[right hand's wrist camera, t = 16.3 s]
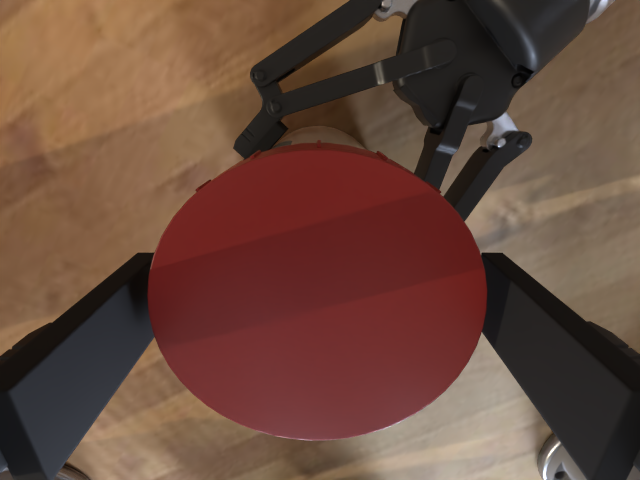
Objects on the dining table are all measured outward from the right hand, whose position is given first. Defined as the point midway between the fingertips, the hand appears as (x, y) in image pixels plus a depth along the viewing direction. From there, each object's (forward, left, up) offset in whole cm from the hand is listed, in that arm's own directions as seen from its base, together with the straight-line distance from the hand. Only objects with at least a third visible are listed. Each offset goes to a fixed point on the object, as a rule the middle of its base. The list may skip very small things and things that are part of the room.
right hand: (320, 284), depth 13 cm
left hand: (-3, +4, -12) cm, 12 cm away
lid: (0, 0, +2) cm, 2 cm away
